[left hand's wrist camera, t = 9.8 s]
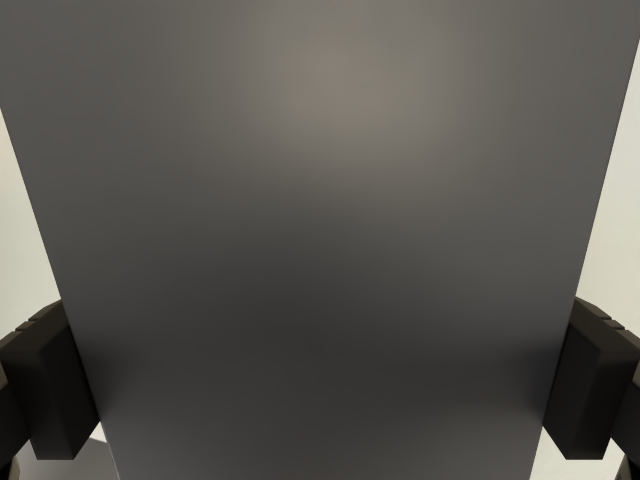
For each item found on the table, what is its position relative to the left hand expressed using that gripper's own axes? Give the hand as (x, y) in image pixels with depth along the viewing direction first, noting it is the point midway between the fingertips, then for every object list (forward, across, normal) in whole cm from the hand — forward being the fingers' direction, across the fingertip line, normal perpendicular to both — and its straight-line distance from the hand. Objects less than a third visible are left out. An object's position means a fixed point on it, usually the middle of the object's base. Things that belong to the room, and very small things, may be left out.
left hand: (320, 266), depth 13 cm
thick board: (+1, +1, -32) cm, 32 cm away
